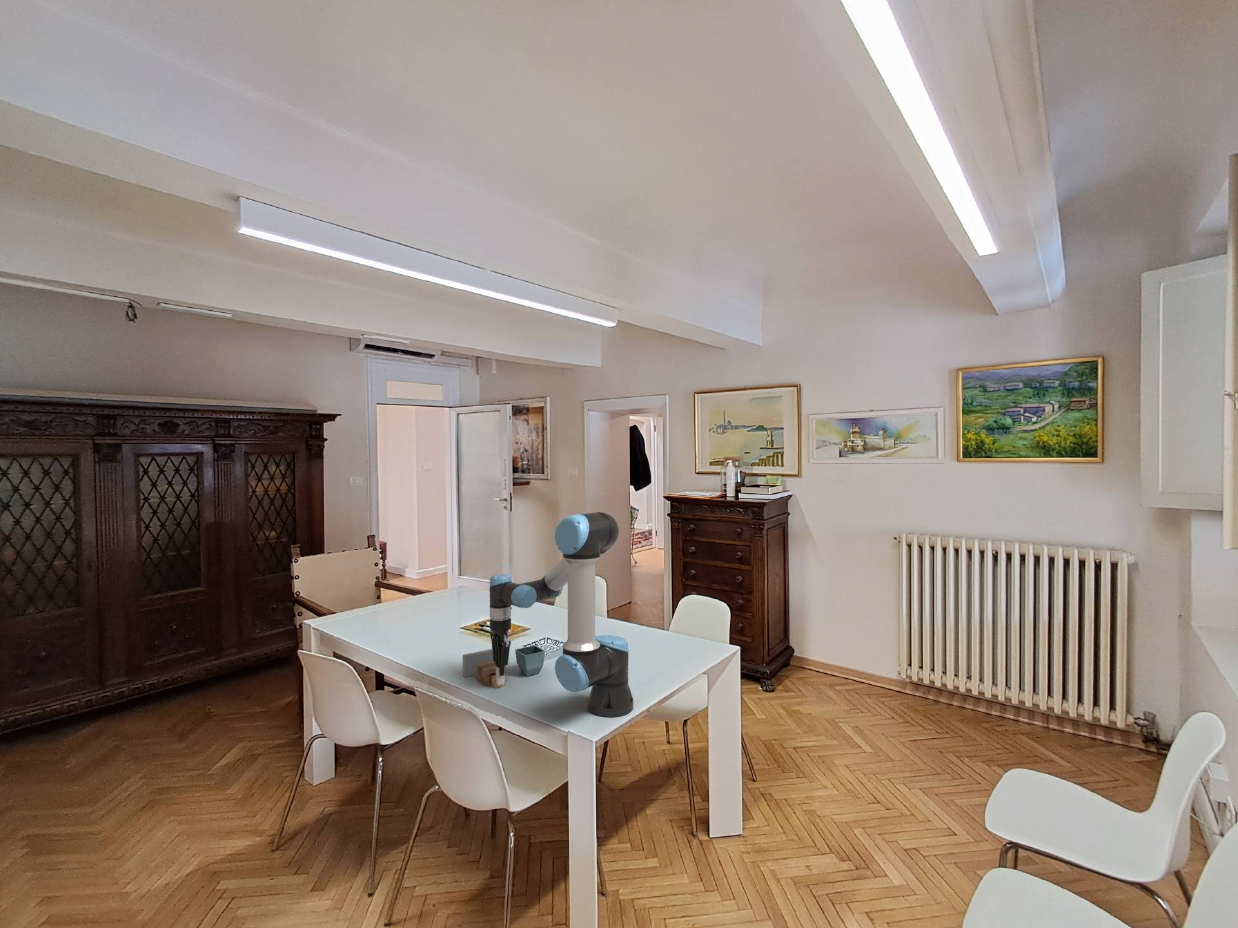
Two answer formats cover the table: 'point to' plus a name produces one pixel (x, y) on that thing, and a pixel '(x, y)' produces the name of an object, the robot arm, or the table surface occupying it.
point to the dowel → (494, 681)
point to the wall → (475, 661)
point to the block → (486, 672)
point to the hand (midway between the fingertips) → (500, 683)
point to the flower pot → (530, 659)
